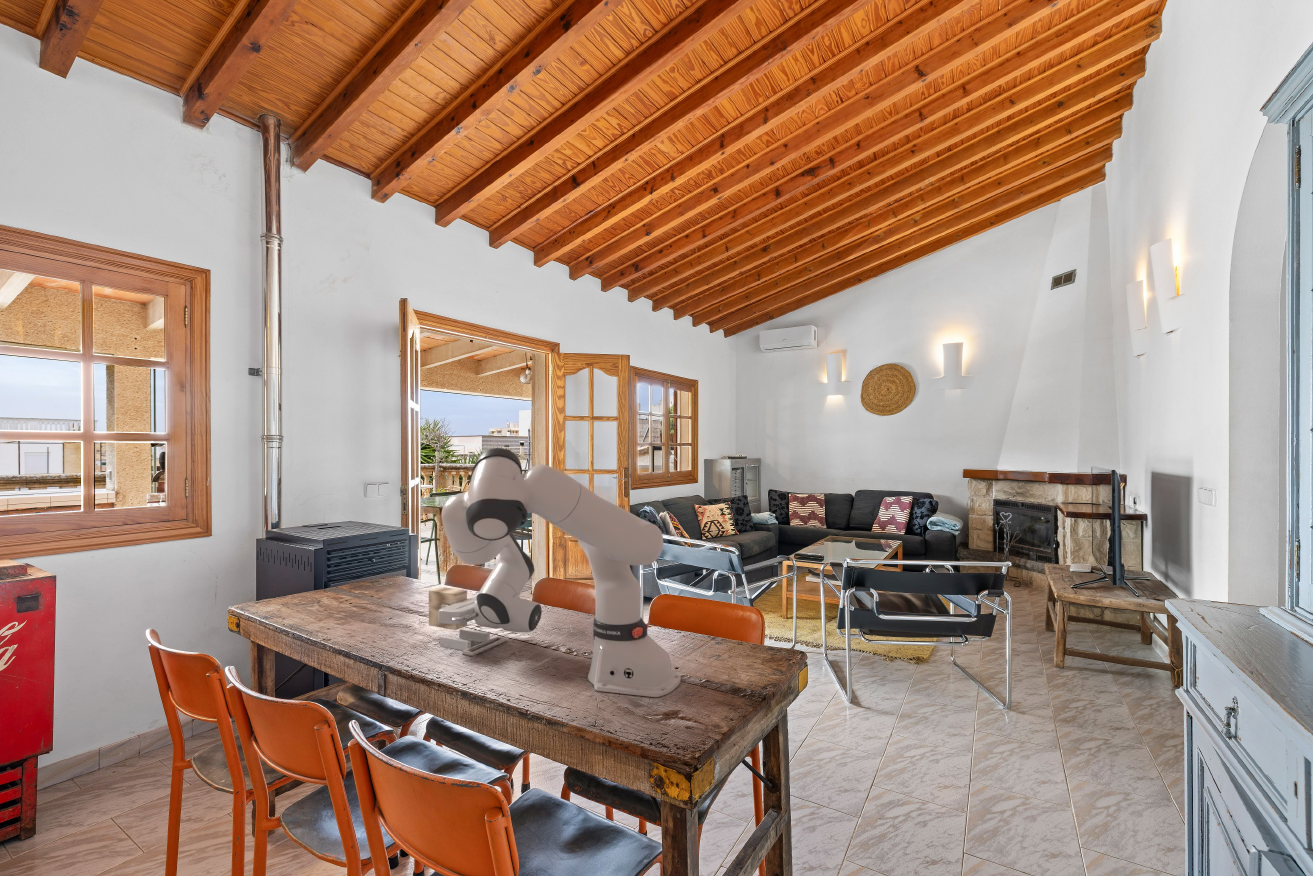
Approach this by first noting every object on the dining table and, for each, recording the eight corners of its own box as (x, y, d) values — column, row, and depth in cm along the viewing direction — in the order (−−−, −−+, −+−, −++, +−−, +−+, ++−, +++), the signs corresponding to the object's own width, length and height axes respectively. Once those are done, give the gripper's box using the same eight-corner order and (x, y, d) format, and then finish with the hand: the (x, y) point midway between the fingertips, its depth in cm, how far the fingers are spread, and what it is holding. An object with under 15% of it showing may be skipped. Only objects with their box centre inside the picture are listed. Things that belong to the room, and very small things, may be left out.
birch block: (467, 625, 170) (466, 590, 170) (455, 630, 166) (455, 594, 166) (440, 621, 174) (440, 586, 174) (428, 625, 170) (428, 590, 170)
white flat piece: (489, 641, 168) (489, 633, 168) (467, 651, 160) (467, 642, 160) (462, 636, 173) (462, 628, 173) (439, 646, 165) (439, 636, 165)
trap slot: (506, 641, 169) (506, 637, 169) (472, 656, 156) (472, 653, 156) (497, 639, 171) (497, 636, 171) (462, 654, 158) (462, 650, 158)
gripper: (462, 633, 154) (422, 626, 160) (512, 612, 173) (475, 606, 179) (462, 608, 154) (422, 602, 160) (512, 590, 173) (475, 585, 179)
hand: (450, 604), depth 169 cm, fingers closed on birch block, 4 cm apart
